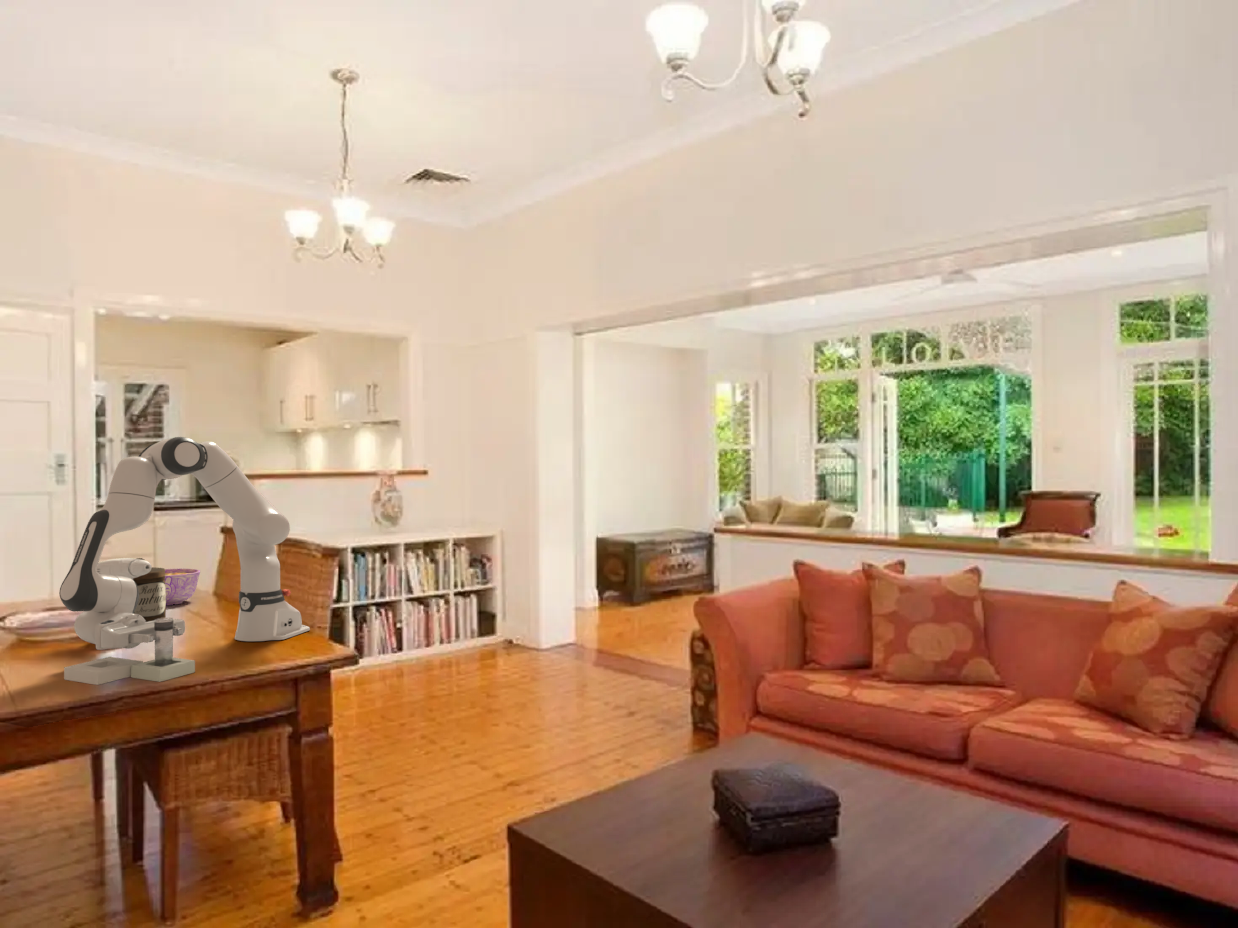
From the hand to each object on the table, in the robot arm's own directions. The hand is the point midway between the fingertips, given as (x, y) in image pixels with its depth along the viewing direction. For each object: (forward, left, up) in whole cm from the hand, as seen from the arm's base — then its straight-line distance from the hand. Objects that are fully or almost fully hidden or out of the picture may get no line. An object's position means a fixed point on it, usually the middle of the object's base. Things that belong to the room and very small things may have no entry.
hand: (166, 635), depth 212 cm
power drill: (-21, -43, -10) cm, 49 cm away
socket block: (+7, -13, -10) cm, 18 cm away
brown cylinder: (-39, -60, -10) cm, 72 cm away
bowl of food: (-73, -88, -10) cm, 115 cm away
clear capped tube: (0, -1, -10) cm, 10 cm away
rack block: (0, -1, -10) cm, 10 cm away
